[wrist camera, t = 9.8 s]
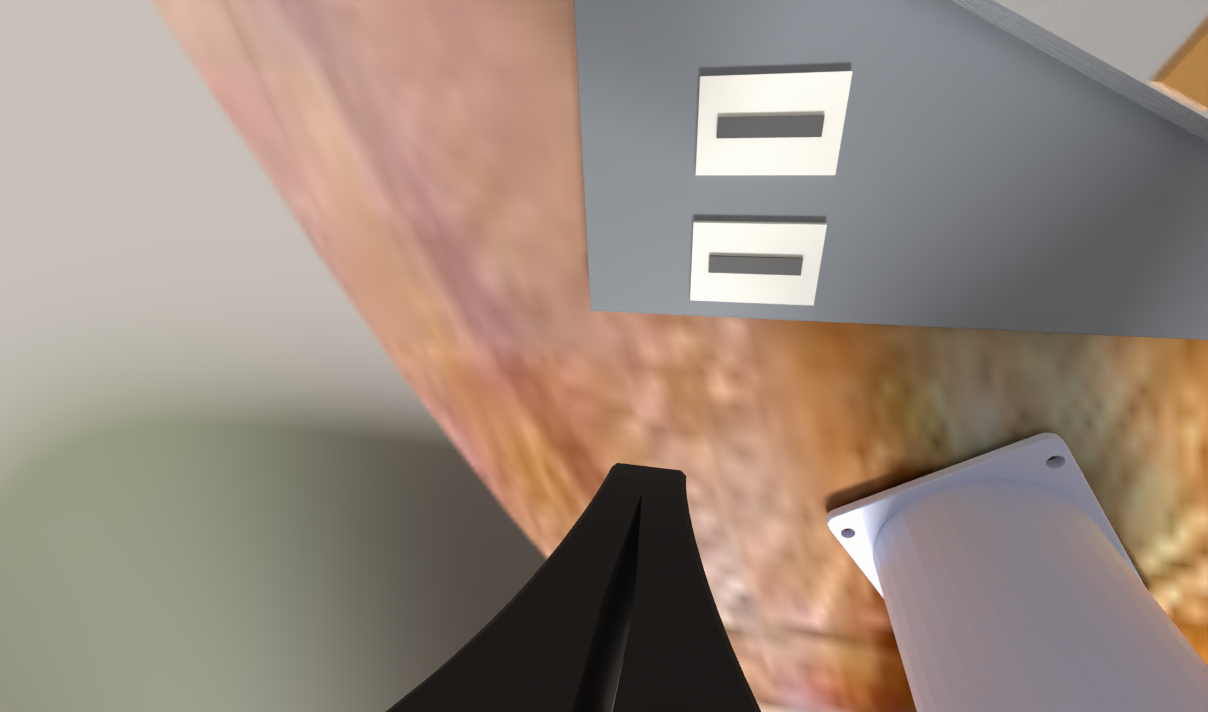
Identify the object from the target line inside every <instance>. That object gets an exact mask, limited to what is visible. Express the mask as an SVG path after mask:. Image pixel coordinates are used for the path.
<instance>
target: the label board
mask: <svg viewBox="0 0 1208 712" xmlns="http://www.w3.org/2000/svg"><path fill="white" fill-rule="evenodd" d="M574 8H575V26H576V45H577V64H578V82H579V101H580V120H581V138H582V157H583V176H584V194H585V213H586V232H587V250H588V269H589V288H590V307H591V311H608V312H629V313H650V314H671V315H692V316H713V317H734V318H756V319H777V320H798V321H819V322H840V323H861V324H882V325H903V326H924V327H946V328H967V329H988V330H1009V331H1030V332H1051V333H1072V334H1093V335H1114V336H1136V337H1157V338H1178V339H1199V340H1208V142H1207V141H1205V140H1203V139H1201V138H1199V137H1198V136H1196V135H1194V134H1192V133H1190V132H1188V131H1187V130H1185V129H1183V128H1181V127H1179V126H1178V125H1176V124H1174V123H1172V122H1170V121H1168V120H1167V119H1165V118H1163V117H1161V116H1159V115H1158V114H1156V113H1154V112H1152V111H1150V110H1148V109H1147V108H1145V107H1143V106H1141V105H1139V104H1138V103H1136V102H1134V101H1132V100H1130V99H1128V98H1127V97H1125V96H1123V95H1121V94H1119V93H1118V92H1116V91H1114V90H1112V89H1110V88H1108V87H1107V86H1105V85H1103V84H1101V83H1099V82H1098V81H1096V80H1094V79H1092V78H1090V77H1088V76H1087V75H1085V74H1083V73H1081V72H1079V71H1078V70H1076V69H1074V68H1072V67H1070V66H1068V65H1067V64H1065V63H1063V62H1061V61H1059V60H1058V59H1056V58H1054V57H1052V56H1050V55H1048V54H1047V53H1045V52H1043V51H1041V50H1039V49H1038V48H1036V47H1034V46H1032V45H1030V44H1029V43H1027V42H1025V41H1023V40H1021V39H1019V38H1018V37H1016V36H1014V35H1012V34H1010V33H1009V32H1007V31H1005V30H1003V29H1001V28H999V27H998V26H996V25H994V24H992V23H990V22H989V21H987V20H985V19H983V18H981V17H979V16H978V15H976V14H974V13H972V12H970V11H969V10H967V9H965V8H963V7H961V6H959V5H958V4H956V3H954V2H952V1H950V0H574Z"/></svg>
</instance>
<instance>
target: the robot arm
mask: <svg viewBox="0 0 1208 712" xmlns="http://www.w3.org/2000/svg"><path fill="white" fill-rule="evenodd" d="M1052 456H1057V458H1055V459H1053V460H1048V459H1049V458H1051V457H1052ZM1047 460H1048V461H1047ZM826 521H827V525H828V527H829V529H830V530H831V532H832V533H833V534H834V535H835V537H836V538H837V539H838V541H839V542H840V543H841V544H842V546H843V547H844V548H845V550H846V551H847V552H848V553H849V555H850V556H851V557H852V559H853V560H854V561H855V562H856V564H857V565H858V566H859V568H860V569H861V570H862V571H863V573H864V574H865V575H866V576H867V578H868V579H869V580H870V582H871V583H872V584H873V585H874V587H875V588H876V589H877V591H878V592H879V593H880V594H881V596H882V597H883V598H884V600H885V604H886V607H887V611H888V614H889V617H890V621H891V624H892V628H893V631H894V634H895V638H896V641H897V645H898V648H899V652H900V655H901V658H902V662H903V665H904V669H905V672H906V675H907V679H908V682H909V686H910V689H911V693H912V696H913V699H914V703H915V706H916V710H917V712H1208V666H1207V664H1206V663H1205V662H1204V661H1203V659H1202V658H1201V657H1200V655H1199V654H1198V653H1197V652H1196V650H1195V649H1194V648H1193V647H1192V645H1191V644H1190V643H1189V642H1188V640H1187V639H1186V638H1185V636H1184V635H1183V634H1182V633H1181V631H1180V630H1179V629H1178V628H1177V626H1176V625H1175V624H1174V623H1173V621H1172V620H1171V619H1170V617H1169V616H1168V615H1167V614H1166V612H1165V611H1164V610H1163V609H1162V607H1161V606H1160V605H1159V604H1158V602H1157V601H1156V600H1155V598H1154V597H1153V596H1152V595H1151V593H1150V592H1149V591H1148V590H1147V588H1146V587H1145V585H1144V584H1143V582H1142V580H1141V578H1140V576H1139V575H1138V573H1137V571H1136V569H1135V567H1134V566H1133V564H1132V562H1131V560H1130V558H1129V556H1128V555H1127V553H1126V551H1125V549H1124V547H1123V546H1122V544H1121V542H1120V540H1119V538H1118V537H1117V535H1116V533H1115V531H1114V529H1113V527H1112V526H1111V524H1110V522H1109V520H1108V518H1107V517H1106V515H1105V513H1104V511H1103V509H1102V508H1101V506H1100V504H1099V502H1098V500H1097V498H1096V497H1095V495H1094V493H1093V491H1092V489H1091V488H1090V486H1089V484H1088V482H1087V480H1086V479H1085V477H1084V475H1083V473H1082V471H1081V470H1080V468H1079V466H1078V464H1077V462H1076V460H1075V459H1074V457H1073V455H1072V453H1071V451H1070V450H1069V448H1068V446H1067V444H1066V443H1065V442H1064V441H1063V440H1062V439H1061V438H1060V437H1059V435H1057V434H1054V433H1041V434H1037V435H1035V436H1032V437H1029V438H1026V439H1024V440H1021V441H1018V442H1015V443H1013V444H1010V445H1007V446H1005V447H1002V448H999V449H996V450H994V451H991V452H988V453H986V454H983V455H980V456H977V457H975V458H972V459H969V460H967V461H964V462H961V463H958V464H956V465H953V466H950V467H947V468H945V469H942V470H939V471H937V472H934V473H931V474H928V475H926V476H923V477H920V478H918V479H915V480H912V481H909V482H907V483H904V484H901V485H899V486H896V487H893V488H890V489H888V490H885V491H882V492H880V493H877V494H874V495H871V496H869V497H866V498H863V499H860V500H858V501H855V502H852V503H850V504H847V505H844V506H841V507H839V508H836V509H833V510H832V511H830V512H829V513H828V514H827V516H826ZM846 528H850V530H843V529H846ZM623 658H624V659H623ZM622 662H623V664H622ZM621 666H622V669H621ZM620 670H621V674H620ZM619 674H620V679H619V684H618V689H617V694H616V699H615V704H614V709H613V712H761V710H760V708H759V706H758V704H757V702H756V700H755V697H754V695H753V693H752V691H751V689H750V687H749V684H748V682H747V680H746V678H745V676H744V674H743V671H742V669H741V667H740V664H739V662H738V660H737V657H736V655H735V653H734V650H733V648H732V646H731V643H730V641H729V638H728V636H727V633H726V631H725V628H724V626H723V623H722V621H721V618H720V615H719V613H718V610H717V607H716V604H715V601H714V599H713V596H712V593H711V590H710V587H709V584H708V581H707V578H706V575H705V572H704V568H703V565H702V561H701V558H700V554H699V551H698V548H697V544H696V540H695V536H694V532H693V528H692V523H691V518H690V514H689V508H688V502H687V494H686V476H685V475H684V473H683V472H682V471H680V470H672V469H663V468H655V467H647V466H638V465H630V464H621V463H617V464H615V465H614V466H612V468H611V469H610V471H609V473H608V475H607V477H606V479H605V480H604V482H603V484H602V485H601V487H600V488H599V490H598V492H597V493H596V495H595V496H594V498H593V499H592V501H591V502H590V504H589V505H588V507H587V508H586V510H585V511H584V512H583V514H582V515H581V517H580V518H579V519H578V521H577V522H576V523H575V525H574V526H573V527H572V529H571V530H570V531H569V533H568V534H567V535H566V537H565V538H564V539H563V541H562V542H561V543H560V545H559V546H558V547H557V548H556V549H555V551H554V552H553V553H552V554H551V555H550V557H549V558H548V559H547V560H546V561H545V563H544V564H543V565H542V566H541V567H540V568H539V570H538V571H537V572H536V573H535V575H534V576H533V577H532V578H531V579H530V580H529V581H528V583H527V584H526V585H525V586H524V587H523V588H522V589H521V590H520V591H519V592H518V593H517V595H516V596H515V597H514V598H513V599H512V600H511V601H510V602H509V603H508V604H507V605H506V606H505V607H504V608H503V609H502V610H501V611H500V612H499V613H498V614H497V615H496V616H495V617H494V618H493V619H492V620H491V621H490V622H489V623H488V624H487V625H486V626H485V627H484V628H483V629H482V630H481V631H480V632H479V633H478V634H477V635H476V636H474V637H473V638H472V639H471V640H470V641H469V642H468V643H467V644H466V645H465V646H464V647H463V648H461V650H459V651H458V652H457V653H456V654H455V655H454V656H453V657H452V658H450V659H449V660H448V661H447V662H446V663H445V664H444V665H443V666H441V667H440V668H439V669H438V670H437V671H436V672H434V674H432V675H431V676H430V677H428V678H427V679H426V680H425V681H424V682H422V683H421V684H420V685H419V686H417V687H416V688H415V689H414V690H412V691H411V692H410V693H409V694H407V695H406V696H405V697H404V698H402V699H401V700H400V701H399V702H397V703H396V704H395V705H394V706H392V708H390V709H389V710H387V711H386V712H611V707H612V703H613V699H614V695H615V690H616V687H617V683H618V678H619Z"/></svg>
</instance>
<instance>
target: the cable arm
mask: <svg viewBox="0 0 1208 712" xmlns="http://www.w3.org/2000/svg"><path fill="white" fill-rule="evenodd" d="M950 1H952V2H954V3H956V4H958V5H959V6H961V7H963V8H965V9H967V10H969V11H970V12H972V13H974V14H976V15H978V16H979V17H981V18H983V19H985V20H987V21H989V22H990V23H992V24H994V25H996V26H998V27H999V28H1001V29H1003V30H1005V31H1007V32H1009V33H1010V34H1012V35H1014V36H1016V37H1018V38H1019V39H1021V40H1023V41H1025V42H1027V43H1029V44H1030V45H1032V46H1034V47H1036V48H1038V49H1039V50H1041V51H1043V52H1045V53H1047V54H1048V55H1050V56H1052V57H1054V58H1056V59H1058V60H1059V61H1061V62H1063V63H1065V64H1067V65H1068V66H1070V67H1072V68H1074V69H1076V70H1078V71H1079V72H1081V73H1083V74H1085V75H1087V76H1088V77H1090V78H1092V79H1094V80H1096V81H1098V82H1099V83H1101V84H1103V85H1105V86H1107V87H1108V88H1110V89H1112V90H1114V91H1116V92H1118V93H1119V94H1121V95H1123V96H1125V97H1127V98H1128V99H1130V100H1132V101H1134V102H1136V103H1138V104H1139V105H1141V106H1143V107H1145V108H1147V109H1148V110H1150V111H1152V112H1154V113H1156V114H1158V115H1159V116H1161V117H1163V118H1165V119H1167V120H1168V121H1170V122H1172V123H1174V124H1176V125H1178V126H1179V127H1181V128H1183V129H1185V130H1187V131H1188V132H1190V133H1192V134H1194V135H1196V136H1198V137H1199V138H1201V139H1203V140H1205V141H1207V142H1208V0H950Z"/></svg>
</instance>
